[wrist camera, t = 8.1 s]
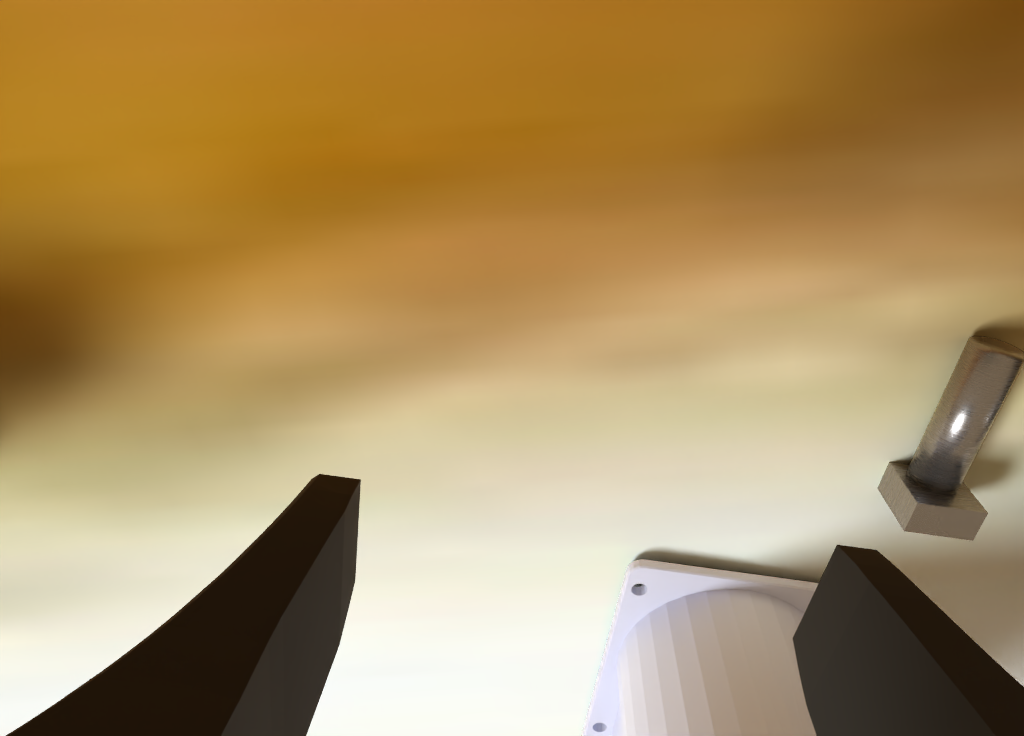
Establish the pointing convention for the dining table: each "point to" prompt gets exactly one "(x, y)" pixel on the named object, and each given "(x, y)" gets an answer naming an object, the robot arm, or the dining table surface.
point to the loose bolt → (953, 445)
